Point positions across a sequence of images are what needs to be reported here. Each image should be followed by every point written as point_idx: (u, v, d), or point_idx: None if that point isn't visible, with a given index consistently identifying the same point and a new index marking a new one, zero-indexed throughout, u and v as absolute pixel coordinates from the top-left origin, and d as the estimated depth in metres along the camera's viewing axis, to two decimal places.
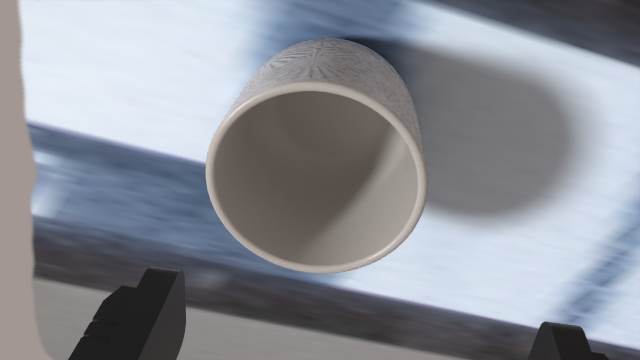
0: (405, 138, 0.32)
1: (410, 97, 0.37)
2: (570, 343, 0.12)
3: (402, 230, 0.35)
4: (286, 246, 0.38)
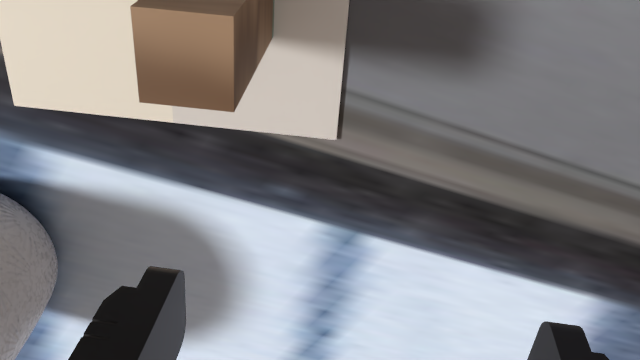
0: None
1: (19, 246, 0.38)
2: (570, 343, 0.12)
3: None
4: None
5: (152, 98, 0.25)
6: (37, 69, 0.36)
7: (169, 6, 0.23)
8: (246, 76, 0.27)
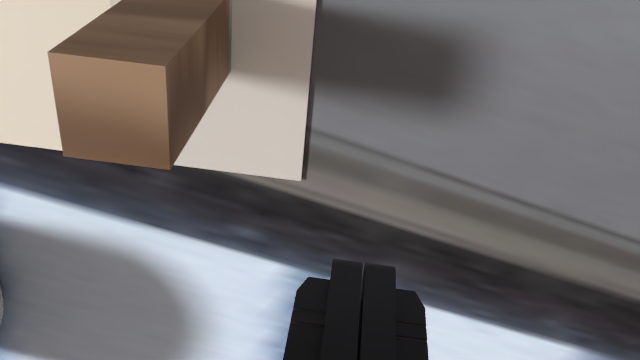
0: None
1: None
2: (378, 279, 0.13)
3: None
4: None
5: (77, 152, 0.22)
6: None
7: (93, 52, 0.20)
8: (189, 125, 0.24)
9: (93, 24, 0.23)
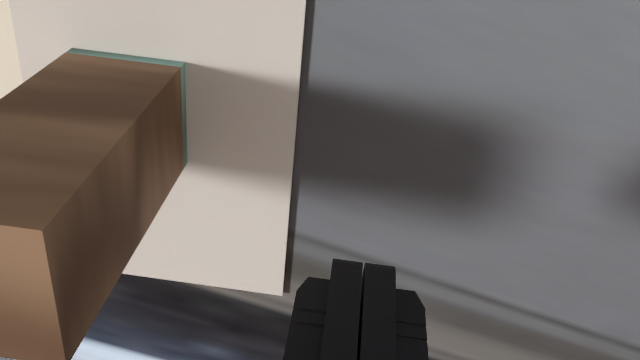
0: None
1: None
2: (378, 279, 0.13)
3: None
4: None
5: None
6: None
7: None
8: (107, 278, 0.16)
9: None
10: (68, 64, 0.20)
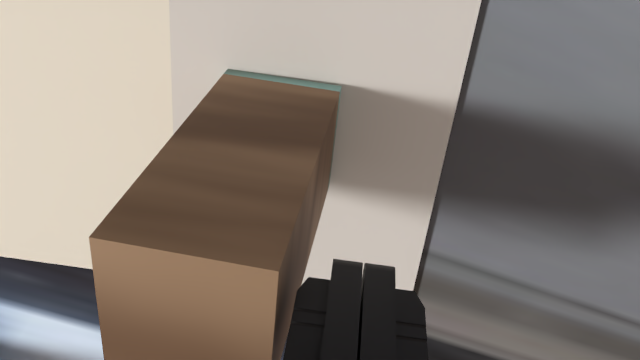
0: None
1: None
2: (378, 279, 0.13)
3: None
4: None
5: None
6: None
7: (161, 237, 0.13)
8: (291, 310, 0.16)
9: (158, 164, 0.15)
10: (231, 87, 0.20)
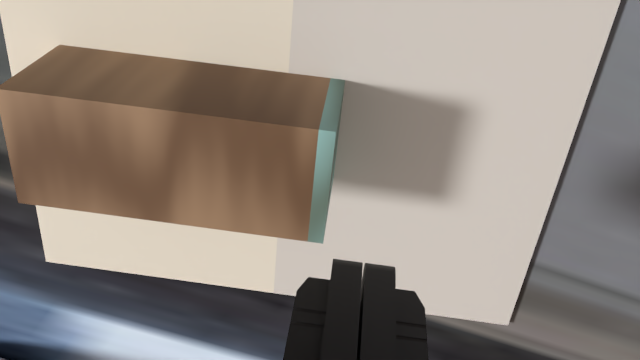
0: None
1: None
2: (378, 279, 0.13)
3: None
4: None
5: None
6: (83, 219, 0.25)
7: (52, 59, 0.20)
8: (92, 198, 0.19)
9: (147, 58, 0.21)
10: (300, 80, 0.20)
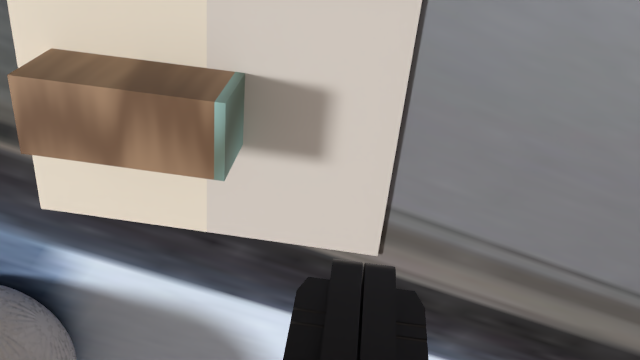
0: None
1: (40, 355, 0.36)
2: (378, 279, 0.13)
3: None
4: None
5: None
6: (67, 175, 0.34)
7: (45, 57, 0.29)
8: (70, 149, 0.29)
9: (110, 57, 0.30)
10: (213, 73, 0.30)
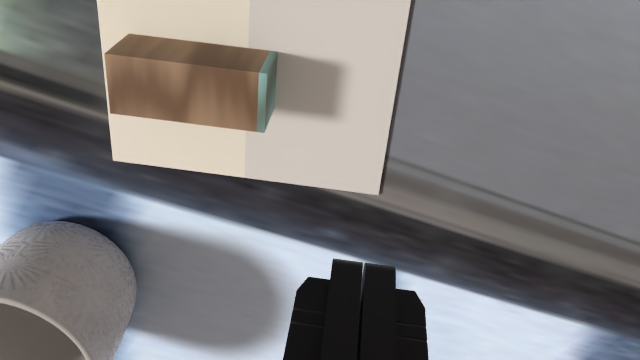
0: (66, 334, 0.40)
1: (113, 276, 0.46)
2: (378, 279, 0.13)
3: None
4: None
5: None
6: (136, 133, 0.44)
7: (127, 40, 0.39)
8: (148, 110, 0.38)
9: (174, 40, 0.40)
10: (254, 51, 0.39)
